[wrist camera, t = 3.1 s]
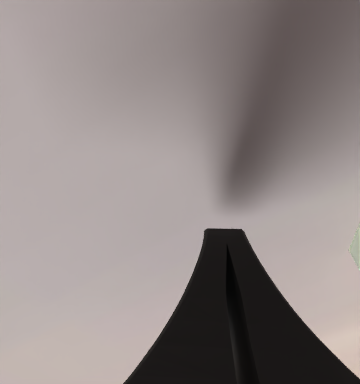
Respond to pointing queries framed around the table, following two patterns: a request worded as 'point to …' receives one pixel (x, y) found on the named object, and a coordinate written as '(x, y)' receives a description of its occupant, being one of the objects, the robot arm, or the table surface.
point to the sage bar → (356, 247)
